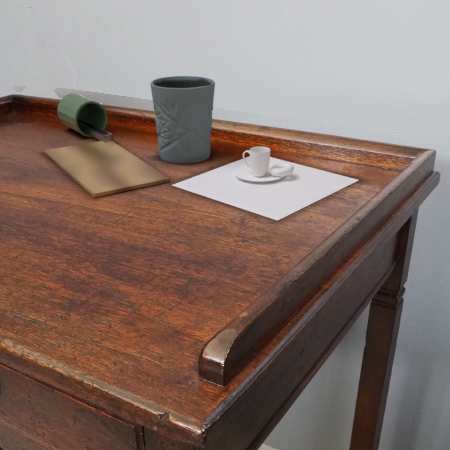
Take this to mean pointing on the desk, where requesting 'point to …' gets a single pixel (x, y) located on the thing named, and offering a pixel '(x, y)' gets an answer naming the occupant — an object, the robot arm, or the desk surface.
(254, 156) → the teacup and saucer
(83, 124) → the tongs
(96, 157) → the cork mat
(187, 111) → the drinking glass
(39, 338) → the desk surface
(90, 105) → the green cup
